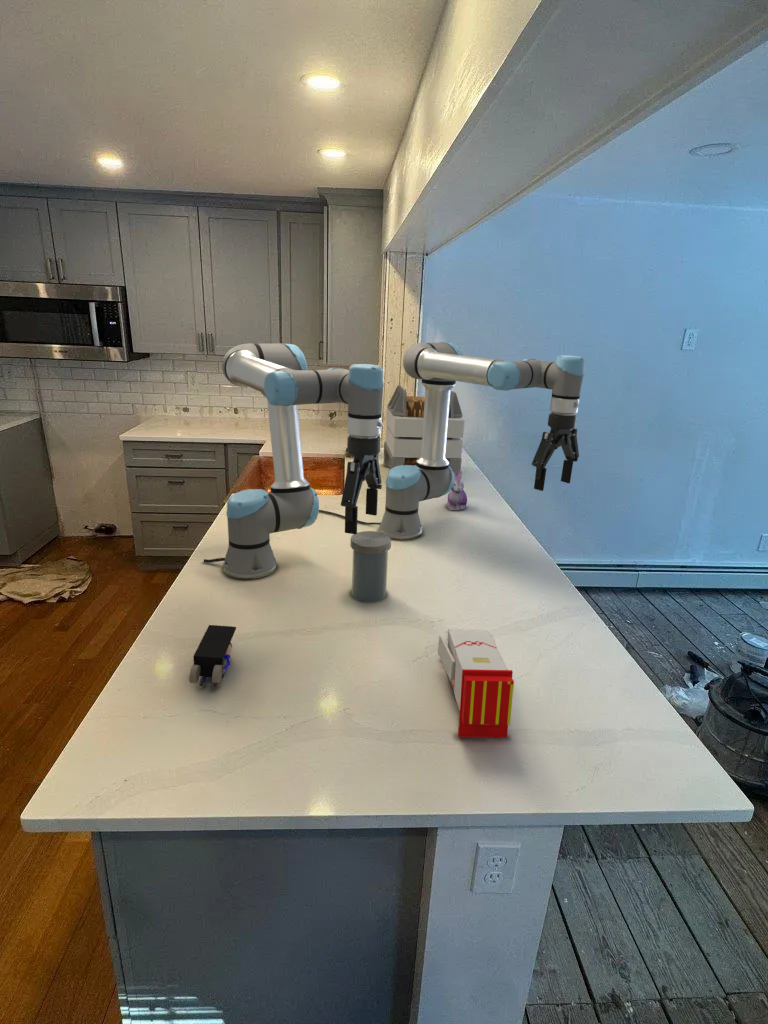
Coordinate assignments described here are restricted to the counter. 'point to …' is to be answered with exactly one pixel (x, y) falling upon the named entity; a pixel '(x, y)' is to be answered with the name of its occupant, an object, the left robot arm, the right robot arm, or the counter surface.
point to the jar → (369, 576)
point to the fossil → (348, 453)
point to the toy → (478, 682)
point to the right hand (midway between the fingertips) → (552, 485)
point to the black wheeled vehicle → (212, 654)
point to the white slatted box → (418, 430)
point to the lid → (370, 542)
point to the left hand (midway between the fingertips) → (361, 523)
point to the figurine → (457, 494)
